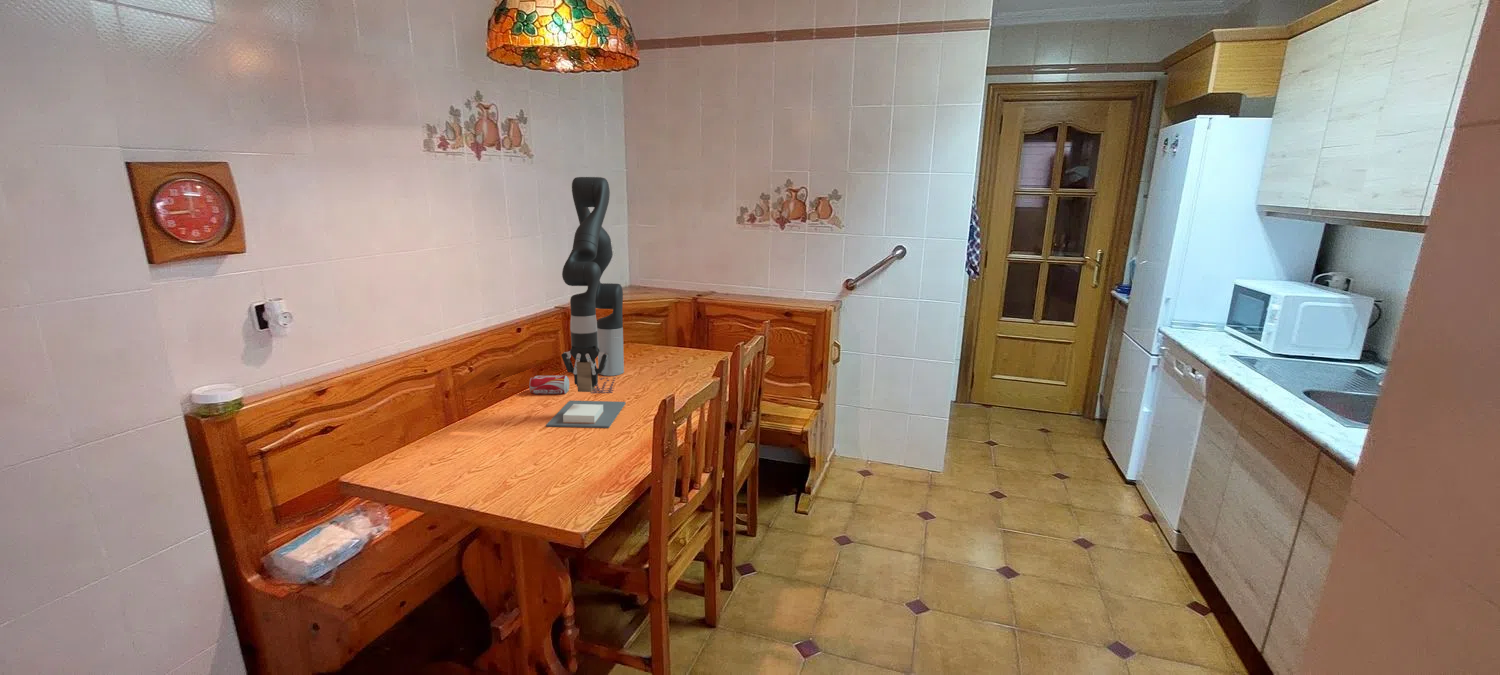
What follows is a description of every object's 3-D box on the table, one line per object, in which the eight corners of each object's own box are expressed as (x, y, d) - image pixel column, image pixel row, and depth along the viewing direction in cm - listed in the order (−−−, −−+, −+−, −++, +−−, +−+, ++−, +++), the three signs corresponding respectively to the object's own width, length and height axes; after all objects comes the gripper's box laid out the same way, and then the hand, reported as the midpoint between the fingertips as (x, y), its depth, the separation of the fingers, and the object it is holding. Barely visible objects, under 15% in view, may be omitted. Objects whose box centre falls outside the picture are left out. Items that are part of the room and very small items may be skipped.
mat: (569, 402, 194) (569, 400, 194) (625, 403, 194) (625, 401, 194) (546, 426, 173) (546, 424, 173) (608, 428, 173) (608, 426, 172)
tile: (573, 404, 184) (563, 415, 174) (603, 404, 183) (594, 415, 174) (573, 411, 184) (563, 422, 174) (603, 412, 184) (594, 423, 174)
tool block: (581, 387, 183) (580, 359, 181) (594, 388, 183) (593, 359, 181) (577, 391, 179) (576, 362, 177) (591, 392, 179) (590, 362, 177)
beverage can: (566, 378, 199) (528, 379, 198) (566, 396, 200) (529, 397, 199) (569, 373, 205) (533, 373, 204) (570, 390, 206) (534, 391, 205)
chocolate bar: (618, 380, 222) (618, 375, 221) (612, 396, 203) (612, 390, 203) (598, 380, 221) (598, 375, 221) (590, 396, 202) (590, 390, 202)
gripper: (611, 327, 181) (612, 383, 184) (563, 326, 181) (566, 381, 185) (605, 332, 173) (606, 390, 177) (555, 331, 174) (558, 389, 177)
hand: (586, 385), depth 181 cm, fingers closed on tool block, 4 cm apart
